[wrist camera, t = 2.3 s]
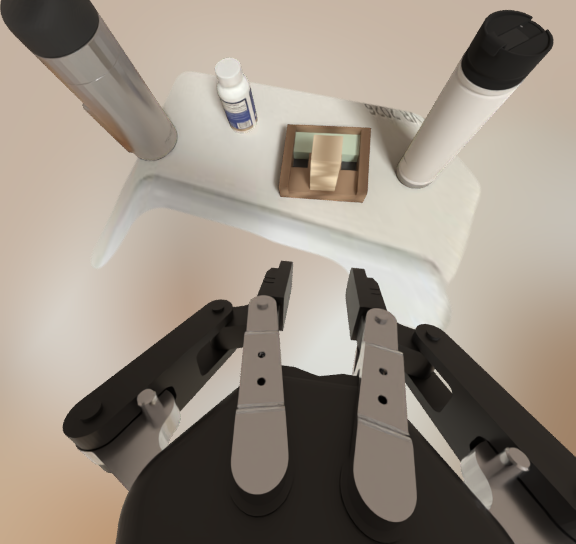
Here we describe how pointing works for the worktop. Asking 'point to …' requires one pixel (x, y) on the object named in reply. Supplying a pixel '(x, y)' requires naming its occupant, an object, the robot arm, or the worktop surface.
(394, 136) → the worktop surface
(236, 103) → the pill bottle
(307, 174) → the box
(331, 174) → the birch block
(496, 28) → the travel mug
